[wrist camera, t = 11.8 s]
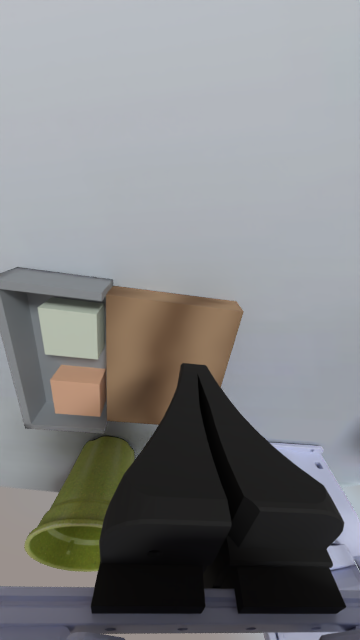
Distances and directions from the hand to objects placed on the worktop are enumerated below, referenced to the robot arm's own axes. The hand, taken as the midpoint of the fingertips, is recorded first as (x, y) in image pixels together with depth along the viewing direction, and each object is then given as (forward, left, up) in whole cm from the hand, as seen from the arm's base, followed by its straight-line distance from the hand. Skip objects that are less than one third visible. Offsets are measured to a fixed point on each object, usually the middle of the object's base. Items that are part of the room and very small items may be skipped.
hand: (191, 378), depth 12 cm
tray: (+10, +4, -8) cm, 13 cm away
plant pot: (+6, +19, -8) cm, 21 cm away
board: (+1, +4, -8) cm, 9 cm away
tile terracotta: (+9, +8, -7) cm, 14 cm away
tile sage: (+9, +1, -7) cm, 11 cm away
